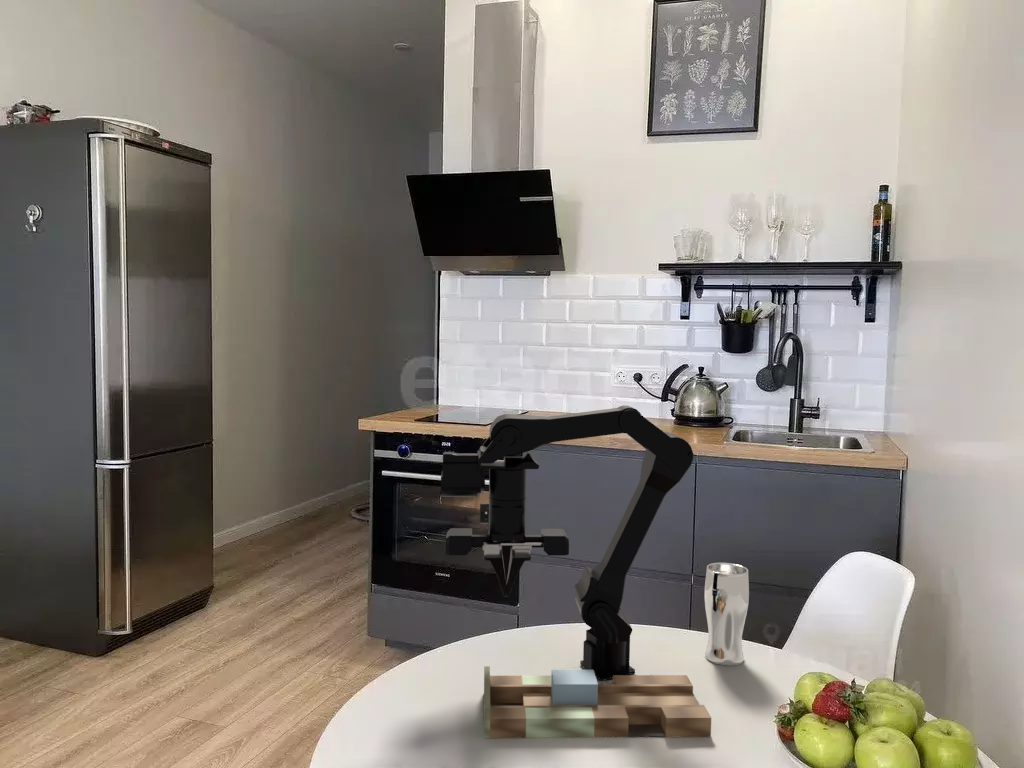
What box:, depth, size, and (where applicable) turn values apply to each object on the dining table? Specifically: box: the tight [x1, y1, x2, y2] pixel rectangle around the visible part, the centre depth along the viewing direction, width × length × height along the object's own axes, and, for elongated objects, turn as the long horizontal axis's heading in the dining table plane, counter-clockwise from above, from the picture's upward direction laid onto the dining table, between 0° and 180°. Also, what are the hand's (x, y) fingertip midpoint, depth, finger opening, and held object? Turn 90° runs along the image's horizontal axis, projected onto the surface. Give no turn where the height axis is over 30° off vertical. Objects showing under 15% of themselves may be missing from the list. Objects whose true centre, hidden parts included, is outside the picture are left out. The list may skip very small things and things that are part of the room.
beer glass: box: [704, 562, 750, 667], centre depth 125 cm, size 7×7×15 cm
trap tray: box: [483, 665, 712, 739], centre depth 107 cm, size 30×12×4 cm, turn 92°
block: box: [550, 669, 599, 705], centre depth 107 cm, size 6×4×4 cm
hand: (506, 595), depth 119 cm, fingers closed
